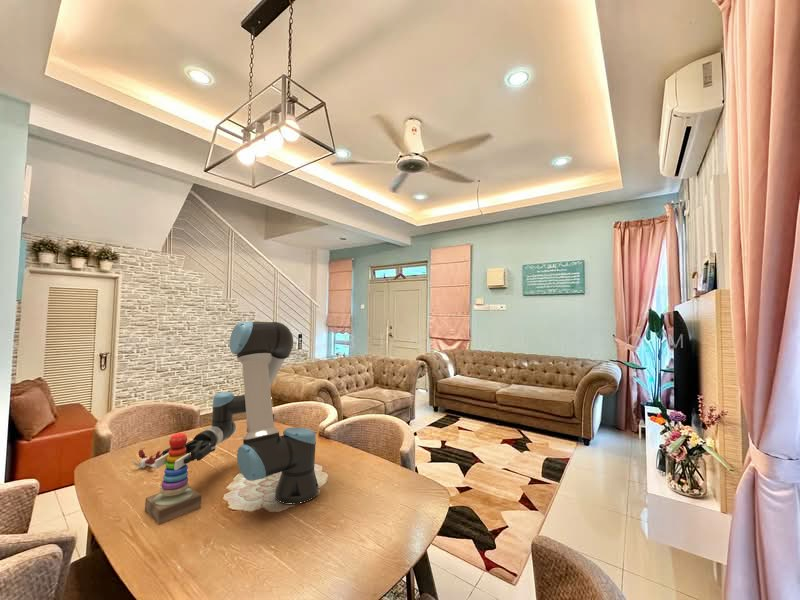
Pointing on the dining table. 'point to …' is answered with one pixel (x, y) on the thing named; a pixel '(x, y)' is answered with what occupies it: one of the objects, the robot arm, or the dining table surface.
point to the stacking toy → (173, 479)
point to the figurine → (147, 459)
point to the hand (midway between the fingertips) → (165, 465)
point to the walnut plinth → (172, 505)
